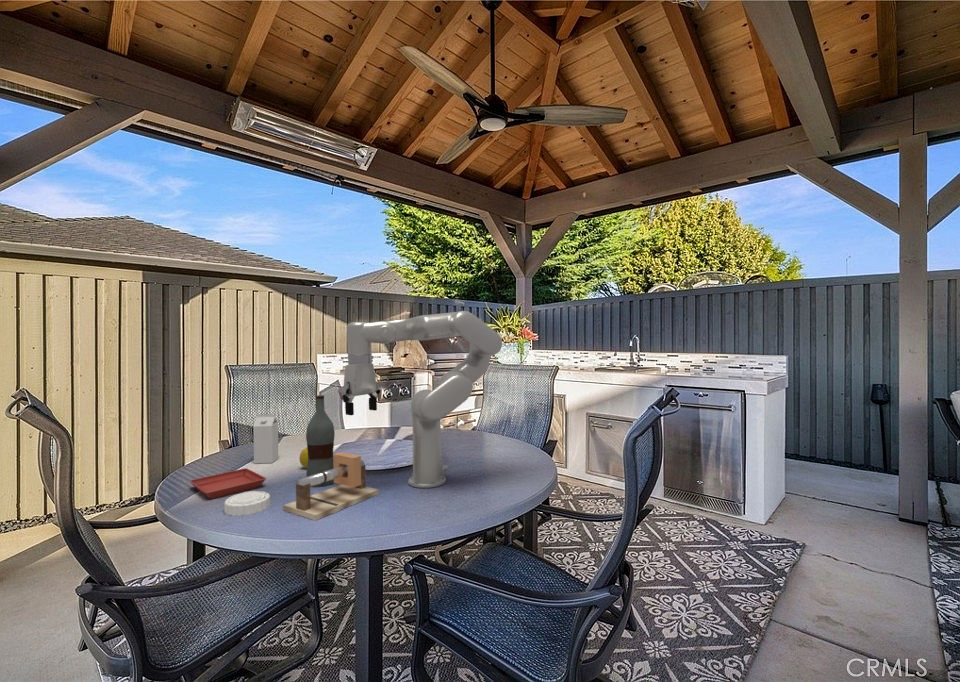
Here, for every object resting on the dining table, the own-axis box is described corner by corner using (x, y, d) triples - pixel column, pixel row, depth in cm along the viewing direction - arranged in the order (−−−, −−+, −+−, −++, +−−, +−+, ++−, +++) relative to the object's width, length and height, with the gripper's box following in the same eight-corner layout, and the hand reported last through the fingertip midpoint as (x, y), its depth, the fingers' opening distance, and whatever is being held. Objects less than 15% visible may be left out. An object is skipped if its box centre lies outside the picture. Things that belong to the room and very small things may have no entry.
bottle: (327, 477, 161) (327, 393, 160) (340, 482, 154) (339, 395, 154) (301, 483, 154) (300, 395, 154) (313, 489, 148) (312, 398, 147)
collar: (341, 480, 144) (340, 452, 144) (361, 484, 140) (360, 455, 140) (333, 482, 142) (333, 454, 142) (353, 487, 137) (353, 458, 137)
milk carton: (260, 459, 185) (260, 413, 185) (278, 458, 186) (278, 412, 186) (253, 464, 178) (253, 416, 178) (272, 463, 179) (271, 415, 179)
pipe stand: (347, 486, 150) (347, 461, 150) (378, 494, 143) (378, 467, 143) (283, 510, 130) (282, 481, 130) (315, 520, 122) (314, 489, 122)
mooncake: (262, 498, 141) (262, 486, 141) (276, 509, 132) (276, 496, 132) (219, 508, 132) (219, 496, 132) (230, 520, 124) (230, 507, 124)
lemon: (296, 469, 170) (296, 448, 170) (306, 465, 175) (306, 445, 175) (308, 471, 168) (307, 449, 168) (318, 467, 173) (318, 446, 173)
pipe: (358, 468, 147) (357, 459, 147) (365, 470, 145) (364, 460, 145) (296, 489, 127) (296, 478, 127) (303, 491, 126) (303, 479, 126)
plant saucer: (206, 502, 137) (206, 492, 137) (188, 489, 150) (188, 479, 150) (267, 488, 151) (267, 478, 151) (246, 477, 163) (246, 467, 163)
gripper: (372, 358, 156) (373, 407, 156) (330, 361, 141) (332, 415, 142) (387, 358, 151) (389, 409, 152) (346, 361, 137) (347, 417, 137)
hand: (361, 412), depth 147 cm, fingers open, 9 cm apart
